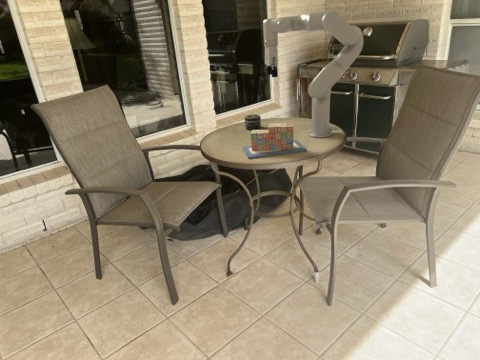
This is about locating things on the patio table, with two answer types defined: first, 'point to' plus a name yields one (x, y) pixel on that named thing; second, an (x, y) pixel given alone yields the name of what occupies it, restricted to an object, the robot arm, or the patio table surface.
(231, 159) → the patio table surface
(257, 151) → the board
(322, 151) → the patio table surface
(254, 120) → the jar
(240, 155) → the patio table surface
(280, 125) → the stack of blocks
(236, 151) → the patio table surface
